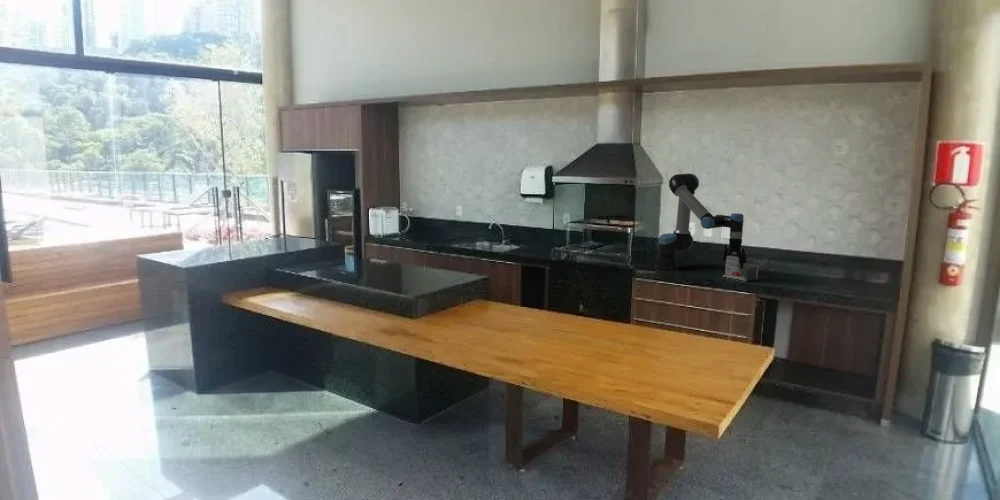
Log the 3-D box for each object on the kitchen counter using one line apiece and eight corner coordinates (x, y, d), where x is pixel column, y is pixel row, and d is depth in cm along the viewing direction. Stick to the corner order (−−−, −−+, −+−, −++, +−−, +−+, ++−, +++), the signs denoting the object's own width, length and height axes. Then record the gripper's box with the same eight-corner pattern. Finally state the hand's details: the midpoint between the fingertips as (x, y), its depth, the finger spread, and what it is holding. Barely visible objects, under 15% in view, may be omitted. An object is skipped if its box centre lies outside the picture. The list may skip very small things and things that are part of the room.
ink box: (741, 274, 373) (742, 256, 371) (737, 276, 370) (738, 258, 368) (729, 272, 380) (730, 255, 378) (725, 273, 377) (726, 256, 375)
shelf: (722, 277, 375) (723, 263, 373) (735, 274, 382) (736, 261, 380) (745, 282, 362) (746, 268, 360) (757, 279, 369) (758, 265, 367)
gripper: (717, 236, 377) (715, 270, 382) (747, 240, 360) (744, 276, 364) (724, 235, 381) (722, 268, 386) (754, 239, 364) (752, 274, 368)
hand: (733, 272), depth 375 cm, fingers closed on ink box, 9 cm apart
